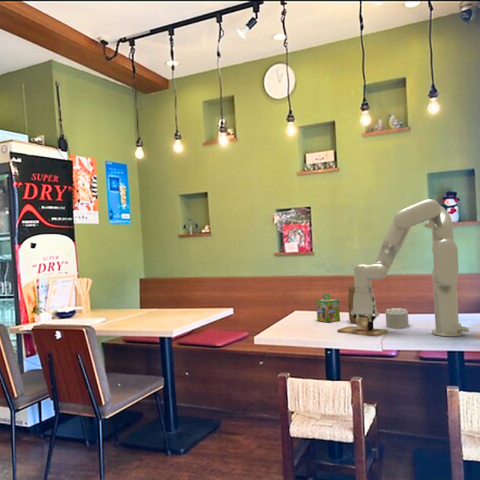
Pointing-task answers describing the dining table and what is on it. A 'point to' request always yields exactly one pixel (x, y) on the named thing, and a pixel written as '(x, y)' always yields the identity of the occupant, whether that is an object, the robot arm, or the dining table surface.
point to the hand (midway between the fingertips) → (365, 328)
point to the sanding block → (362, 323)
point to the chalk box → (328, 309)
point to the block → (351, 302)
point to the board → (369, 333)
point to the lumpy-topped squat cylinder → (397, 318)
